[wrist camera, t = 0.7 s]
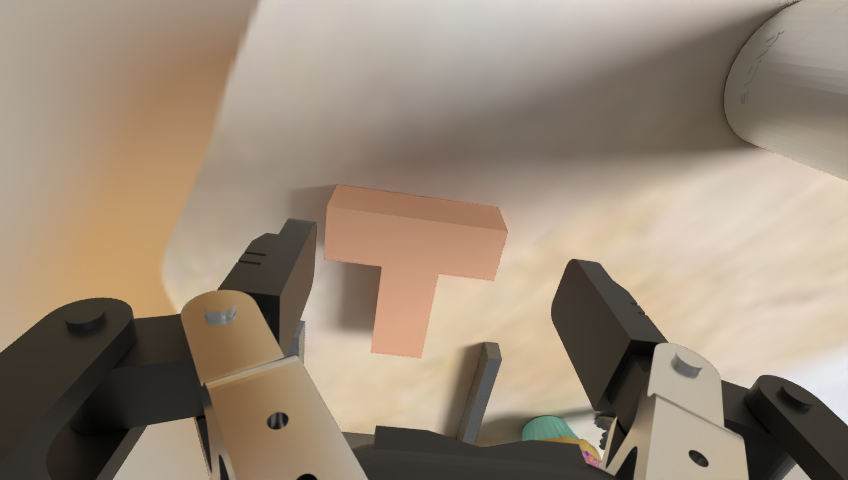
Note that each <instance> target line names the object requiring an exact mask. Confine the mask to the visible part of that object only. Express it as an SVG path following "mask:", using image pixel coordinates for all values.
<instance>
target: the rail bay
mask: <svg viewBox="0 0 848 480" xmlns="http://www.w3.org/2000/svg"><path fill="white" fill-rule="evenodd" d="M304 336H305V321H299V324H298V327H297V329H296V332H295V335H294V338H293V340H292V343H291V346H290V349H289V351H288V354H287V356H290V355H293V354H295V355H296V356H298V357H299V359H300V360H301V362H302V363H303V365H304ZM501 361H502V358H501V354H500V349H499V345H498V343H490V342H485V344H484V347H483V350H482V354H481V357H480V361H479V364H478V367H477V371H476V374H475V377H474V381H473V384H472V388H471V391H470V394H469V398H468V401H467V404H466V408H465V411H464V415H463V418H462V421H461V425H460V428H459V431H458V435H457V438H456V440H459V441H462V442H465V443H468V444H472V445H474V443H475V440H476V437H477V434H478V431H479V428H480V425H481V422H482V419H483V416H484V412H485V409H486V406H487V403H488V400H489V397H490V394H491V391H492V388H493V385H494V382H495V379H496V376H497V373H498V370H499V367H500V364H501ZM342 434H343V436H344V438H345V439H346V441H347V443H348V445H349V447H350V448H353V447H357V446H360V445H364V444H369V443H373V440H374V435H367V434H356V433H345V432H342Z"/></svg>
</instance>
